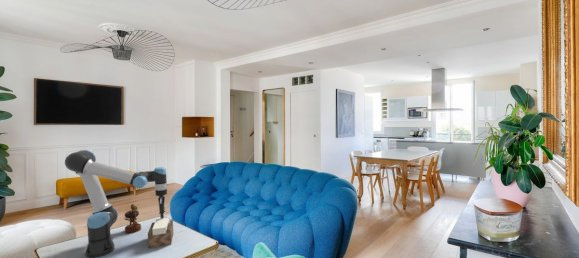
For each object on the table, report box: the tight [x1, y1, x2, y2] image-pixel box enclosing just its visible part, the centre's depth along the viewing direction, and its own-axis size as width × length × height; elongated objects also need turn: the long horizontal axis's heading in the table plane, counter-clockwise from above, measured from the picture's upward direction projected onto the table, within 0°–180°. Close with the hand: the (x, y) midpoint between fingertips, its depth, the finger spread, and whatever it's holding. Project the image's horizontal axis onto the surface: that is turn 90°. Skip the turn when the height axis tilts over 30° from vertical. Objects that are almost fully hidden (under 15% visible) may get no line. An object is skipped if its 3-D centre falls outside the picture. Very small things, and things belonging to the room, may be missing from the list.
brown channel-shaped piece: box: [147, 219, 174, 249], centre depth 188 cm, size 14×18×10 cm
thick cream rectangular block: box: [152, 217, 170, 235], centre depth 188 cm, size 8×18×4 cm, turn 18°
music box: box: [123, 203, 142, 234], centre depth 205 cm, size 15×11×20 cm
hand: (162, 221), depth 197 cm, fingers closed
